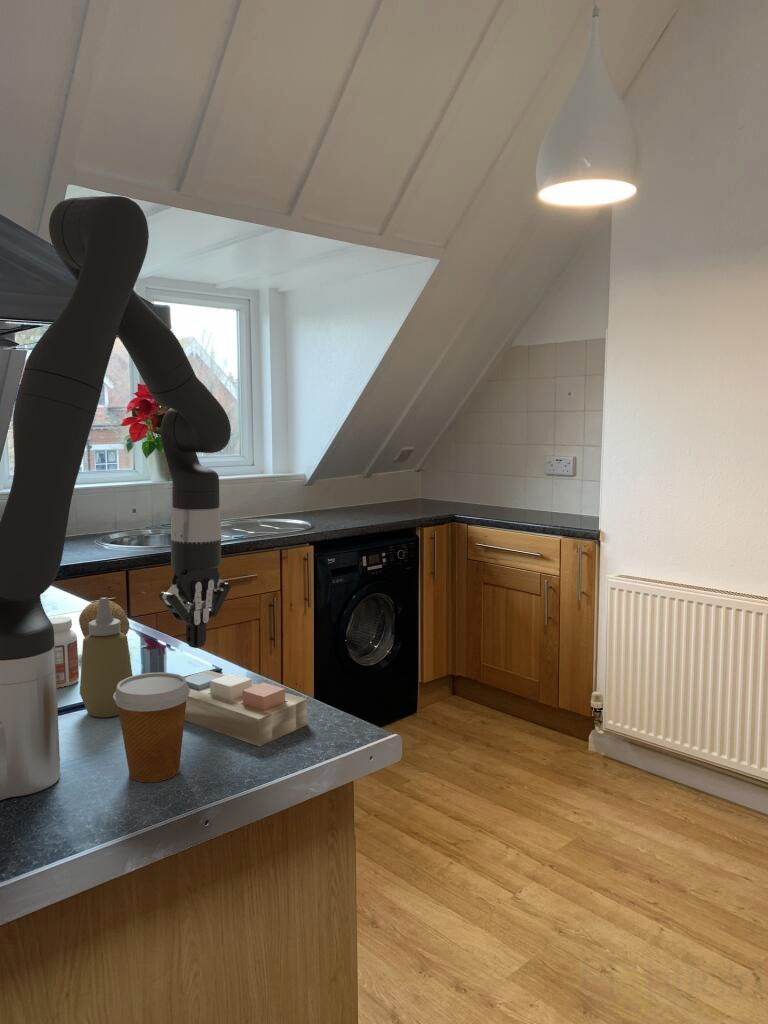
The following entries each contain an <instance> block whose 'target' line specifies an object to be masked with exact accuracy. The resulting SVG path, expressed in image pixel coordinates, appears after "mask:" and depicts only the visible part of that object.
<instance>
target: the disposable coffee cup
mask: <svg viewBox="0 0 768 1024" xmlns="http://www.w3.org/2000/svg"><path fill="white" fill-rule="evenodd" d="M189 693H190V688H189V686H187V682H186V679H185V676H183V675H180V674H177V673H173V672H165V671H164V672H161V671H160V672H145V673H139V674H135V675H133V676H131V677H128V678H126V679H124V680H122V681H120V682H119V683H118V685H117V688H116V692H115V693H114V695H113V699H114V700H115V702H116V705H117V706H118V711H119V715H118V716H119V721H120V727H121V731H122V732H121V734H122V739H123V744H124V751H125V757H126V762H127V768H128V774H129V777H130V778H131V779H132V780H134V781H136V782H140V783H156V782H162V781H166V780H169V779H171V778H173V777H175V776H176V775H177V774H178V773H179V772H180V764H181V758H182V747H183V737H184V729H185V720H184V719H185V710H186V700H187V698H188V695H189Z"/></svg>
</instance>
